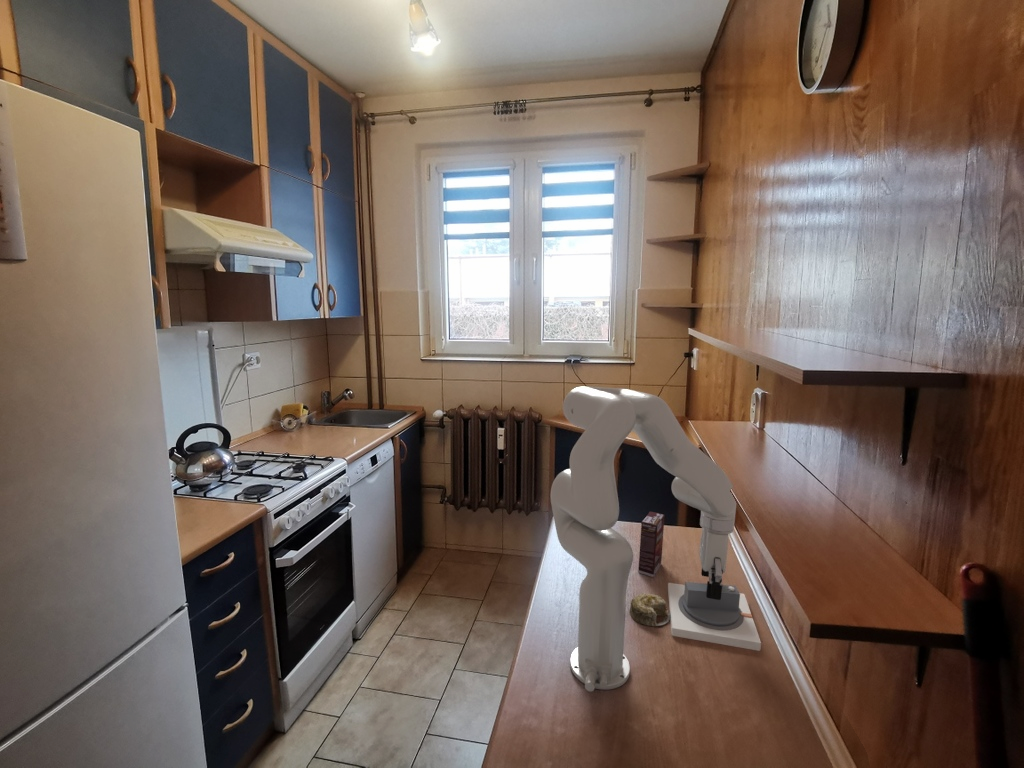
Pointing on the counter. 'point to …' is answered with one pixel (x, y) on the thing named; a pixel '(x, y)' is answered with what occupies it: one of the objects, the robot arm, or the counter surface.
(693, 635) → the dial plate
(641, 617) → the cake
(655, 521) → the supplement box
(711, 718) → the counter surface
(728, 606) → the dial
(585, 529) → the robot arm
